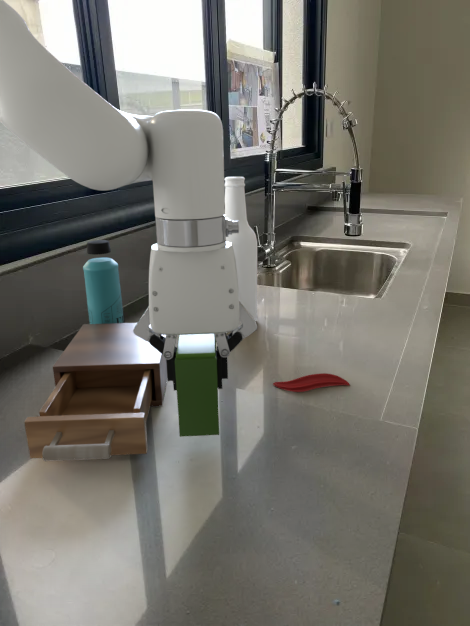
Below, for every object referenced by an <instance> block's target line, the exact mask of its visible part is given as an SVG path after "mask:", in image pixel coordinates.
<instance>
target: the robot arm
mask: <svg viewBox="0 0 470 626" xmlns="http://www.w3.org/2000/svg"><path fill="white" fill-rule="evenodd" d="M222 122H223V121H222V120H221V118H220V116H219V115H218V114H217V113H216V112H213V111H211V110H204V109H171V110H164V111H159V112H157V113H155V114H154V115H145V114H143V115H142V114H133V113H128V112H125V111H122V110H120V109H118V108H116V107H115V106H114V105H112V104H111V103H110V102H109V101H107V100H106V99H105V98H104V97H102V96H101V95H100V94H99V93H98V92H96V91H95V90H94V89H93V88H92V87H90V86H89V85H88V84H87V83H86V82H85V81H83V80H82V79H81V78H79V77H78V75H76V74H75V73H74V72H72V70H70V69H69V68H68V67H67V66H65V64H63V63H62V62H61V61H60V60H59V59H58V58H56V56H54V55H53V54H52V53H51V52H50V51H49V50H48V49H47V48H46V47H44V46H43V44H41V42H40V41H39V40H38V39H37V38H36V37H35V36H34V34H33V33H32V31H31V30H30V28H29V26H28V24H27V22H26V20H25V19H24V18H23V16H22V15H21V14H19V13H18V11H17V10H15V8H14V7H12V6H11V5H10V4H9V3H7V2H6V1H5V0H0V124H1V125H2V126H4V127H5V129H7V130H8V131H9V132H10V133H11V134H12V135H14V136H15V137H16V138H18V140H19V141H21V142H22V143H23V144H25V145H26V146H27V147H28V148H30V149H31V150H32V151H33V152H35V153H36V154H38V155H39V156H40V157H41V158H42V159H44V160H45V161H46V162H48V163H49V164H50V165H51V166H53V167H54V168H55V169H57V170H58V171H59V172H61V173H62V174H63V175H65V176H67V177H68V179H71V180H72V181H74V182H75V183H77V184H79V185H81V186H82V187H83V186H84V187H86V188H87V189H91V190H95V191H104V192H105V191H111V190H116V189H120V188H122V187H125V186H128V185H132V184H137V183H142V182H149V181H152V191H153V205H154V217H155V218H154V219H155V233H156V235H155V236H156V243H153V244H152V245H151V248H150V254H149V266H148V306H147V307H146V309H145V310H144V312H143V313H142V314H141V316H140V317H139V319H138V321H137V322H136V323H137V324H136V325H135V328H134V330H133V333H134V334H135V335H136V336H138V337H140V338H141V339H143V340H145V341H147V342H149V343H150V344H151V345H152V346H153V347H154V348H155V349H156V350H158V351H159V352H160V353H161V354H163V357H164V358H165V359H166V363H167V382H172V383H173V384H172V387H173V391H174V392H175V391H176V392H177V388H176V372H175V358H176V351H177V346H176V344H177V337H178V336H179V335H192V334H214V336H215V340H216V357H217V384H218V390H222V389H223V380H228V379H229V369H228V368H229V366H228V365H229V364H228V363H229V362H228V358H229V356H230V354H231V352H233V350H234V349H235V348H237V346H239V345H240V343H241V342H242V341H243V340H244V339H246V338H247V337H249V336H251V335H252V334H253V333H254V332H256V331H257V330H258V324H257V320H256V321H255V320H254V319H253V318H252V316H251V315H250V314H249V312H248V311H247V310H246V309H245V307H244V306H243V305H242V304H241V302H240V301H239V291H238V278H237V268H236V260H235V254H234V249H233V245H232V243H231V242H228V241H226V237H228V235H232V233H239V222H238V221H232V220H228V218H225V180H224V179H225V159H224V157H225V156H224V154H225V153H224V129H223V127H224V126H223V123H222ZM239 320H240V321H241V323H242V324H241V325H240V326H239V327H238V325H239ZM149 325H151V328H152V329H151V328H150V327H149ZM237 327H238V328H237ZM227 333H228V334H227ZM162 335H166V338H165V337H164V336H162Z"/></svg>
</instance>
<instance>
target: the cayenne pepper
mask: <svg viewBox="0 0 470 626" xmlns="http://www.w3.org/2000/svg"><path fill="white" fill-rule="evenodd" d="M272 385H273V386H274V387H276V388H278V389H280V390H283V391H288V392H293V393H304V392H309V391H312V390H315V389H319V388H327V387H336V386H337V387H338V386H351V383H350V382H348V381H347V380H346V379H344V378H343V377H341V376H339V375H336V374H332V373H326V372H324V373H312V374H311V373H310V374H307V375H303V376H300V377H296V378H294V379H290V380H285V381H274V382H272Z"/></svg>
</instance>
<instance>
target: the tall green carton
mask: <svg viewBox="0 0 470 626" xmlns="http://www.w3.org/2000/svg"><path fill="white" fill-rule="evenodd" d="M176 347H177V351H176V358H175V372H176V388H177V391H176V401H177V403H176V404H177V414H178V416H177V417H178V434H179V437H200V436H201V437H204V436H220V414H219V412H220V411H219V389H218V384H217V357H216V350H217V343H216V340H215V336H214V334H192V335H178V340H177V346H176Z"/></svg>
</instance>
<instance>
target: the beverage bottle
mask: <svg viewBox="0 0 470 626" xmlns="http://www.w3.org/2000/svg"><path fill="white" fill-rule="evenodd" d="M111 252H112V249H111V245H110V241H109V240H107V239H94V240H90V241H87V242H86V254H87V255H92V256H93V255H95V256H96V255H106V254H110V253H111ZM82 270H83V277H84V284H85V293H86V306H87V310H86V311H87V314H88V315H87V318H88V324H109V323H126V321H125V318H124V306H123V305H124V303H123V298H122V288H121V282H120V271H119V264H118V262H117V261H115V259H113V258H111V257H94V258H90V259H88V260H87V261H86V262H85V263H84V265H83V266H82Z"/></svg>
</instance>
